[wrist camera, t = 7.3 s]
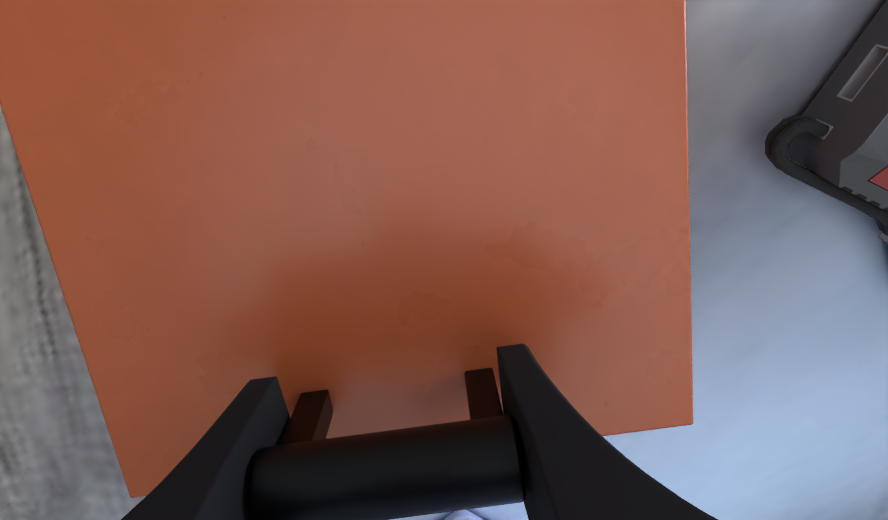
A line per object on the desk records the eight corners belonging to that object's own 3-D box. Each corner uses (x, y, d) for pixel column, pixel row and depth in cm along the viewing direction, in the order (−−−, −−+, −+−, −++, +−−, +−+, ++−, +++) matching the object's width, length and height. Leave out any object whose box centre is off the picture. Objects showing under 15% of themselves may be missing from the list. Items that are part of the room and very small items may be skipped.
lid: (683, 410, 16) (785, 541, 11) (142, 481, 16) (29, 638, 11) (670, -113, 12) (810, -227, 8) (-18, -15, 13) (-269, -71, 8)
